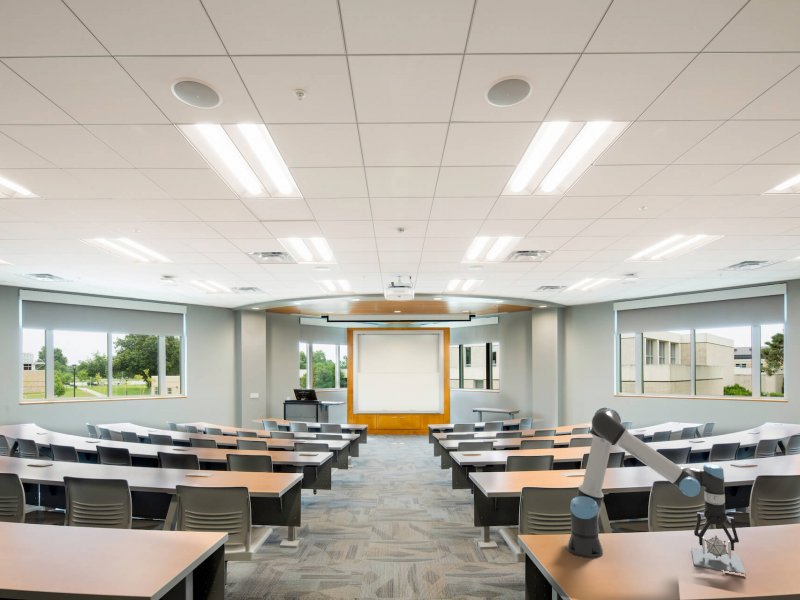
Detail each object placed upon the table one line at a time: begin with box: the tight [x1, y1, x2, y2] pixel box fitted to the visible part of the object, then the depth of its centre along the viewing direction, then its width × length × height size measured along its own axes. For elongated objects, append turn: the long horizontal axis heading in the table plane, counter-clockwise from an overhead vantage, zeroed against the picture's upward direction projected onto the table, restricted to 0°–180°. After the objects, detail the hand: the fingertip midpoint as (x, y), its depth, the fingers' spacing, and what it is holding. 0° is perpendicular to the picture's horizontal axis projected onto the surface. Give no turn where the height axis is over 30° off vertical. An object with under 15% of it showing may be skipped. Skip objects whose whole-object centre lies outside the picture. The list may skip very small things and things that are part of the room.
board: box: [691, 547, 746, 575], centre depth 215 cm, size 18×18×2 cm
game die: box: [704, 535, 729, 558], centre depth 215 cm, size 9×8×10 cm
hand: (716, 555), depth 215 cm, fingers closed on game die, 9 cm apart
